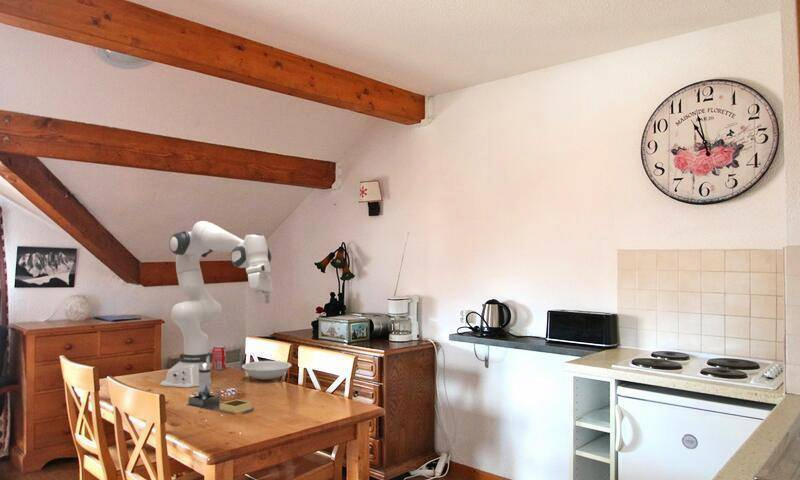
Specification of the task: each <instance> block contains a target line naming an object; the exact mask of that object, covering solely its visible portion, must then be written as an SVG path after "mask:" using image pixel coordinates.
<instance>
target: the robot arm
mask: <svg viewBox="0 0 800 480" xmlns="http://www.w3.org/2000/svg"><path fill="white" fill-rule="evenodd" d="M168 245H169V249H170V251H171V253H173V254H175V255H176V256H175V270H176V276H177V281H178V287H179V290H180V291H181V293H182V294H184V295H186V297H188V299H189V300H188V301H187V300H186V301H181V302H179V303H176V304H174V305H173V306H172V308H171V311H170V318H171V320H172V322H173V323H174V324H175V325H177V326H178V327H179V329H180V331H181V333H182V337H183V353H181V354H180V355H179V356H178V359H179V361H178V362H177V363H176V364H174V365H173V366H172V367H171V368H169V369H168V370H167V373H166V375H165V376H166V377H165V379H164V380H162V381H161V382H160V386H165V387H175V388H177V387H178V388H193V387H199V363H202V362H210V358H211V357H210V352H209V346H210V345H209V342H210V341H209V340H210V339H209V336H208V334H207V333H206V332H204V331H202V329H201V324H205V323H207V324H208V323H211V322H215V321H216V320H219V318H221V315H222V312H223V311H222V310H223V309H222V305H221V303H220V302H218V300H216V299H214V298H213V296H212V295H211V294H210V293H209V291H208V289H207V288H206V285H205V283H204V277H203V273H202V269H201V268H202V267H201V265H200V258H201V257H203V258H206V257H207V256H208V255H209V254H211V253H213V252H214V251H215V252H230V261H231V263H232V265H233V266H234V267H235V268H240V269H245V272H246V274H247V279H248V284H249V285H248V286H249V288H250V290H251V292H255V295H256V298H257V302H258V303H262V302H264V303H265V305H266V304H267V305H268V304H270V303H271V294H272V293H274V287H273V286H274V285H273V280H272V277H271V276H270V275H269V274H271V273H272V272H271V264H270V263H271V261H272V254H271V253H272V252H271V251H270V249H269V248H268V246H267V245H268V244H267V241H266V237H265V235H264V234H261V233H247V234H246V235H245V236H244V238H241V237H239V236H237V235H235V234H233V233H232V232H230V231H228V230H225V229H224V228H222V227H221V226H219V225H216V224H215V223H212V222H210V221H206V220H200V221H197V222H196V223H194V225H193V227H192V229H191V230H190V231H186V230H183V231H179V232H177V233H173V234H172V236H171V237H170V239H169V244H168ZM262 294H264V298H263V295H262ZM211 383H212V379H211V377H210V384H211Z"/></svg>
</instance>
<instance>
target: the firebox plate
mask: <svg viewBox="0 0 800 480" xmlns="http://www.w3.org/2000/svg"><path fill="white" fill-rule="evenodd" d="M187 402H188V404H186V406H189V407H194V408H199V409H204V410H209V411H213V412H219V413H223V414H227V415H232V416H233V415H236V414H240V413H241V414H240V415H244V414H247V413H251V412H253V411H255V410H254V409H255V408H254V407H253V402H251V401H247V400H246V401H245V400H242V399H238V398H237V399H233V400H230V401H220V395H217V394H216V395H215V394H211V393H210V398H208V399H204V400H202V399H198V395H193V396H190V397H188V401H187Z"/></svg>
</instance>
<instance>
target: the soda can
mask: <svg viewBox="0 0 800 480" xmlns="http://www.w3.org/2000/svg"><path fill="white" fill-rule="evenodd" d="M211 355H212V356H211V369H213V370H215V371H220V370H224V369H225V368H226V365H227V349H226V346H225V345H214V346H213V348H212V351H211Z"/></svg>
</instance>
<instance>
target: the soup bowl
mask: <svg viewBox="0 0 800 480" xmlns="http://www.w3.org/2000/svg"><path fill="white" fill-rule="evenodd" d="M292 366H293V365H292V363H290V362H287V361H281V360H260V361H259V360H258V361H252V362H247V363H243V364H242V365H241V368H242V369H243V370H245V372H246V373H247V375H248V376H250V377H251V378H254V379H257V380H274V379H278V378H280V377H282V376H283V375H284V374H285V375H286V372H287V371H288V370H289V368H291V367H292Z"/></svg>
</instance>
